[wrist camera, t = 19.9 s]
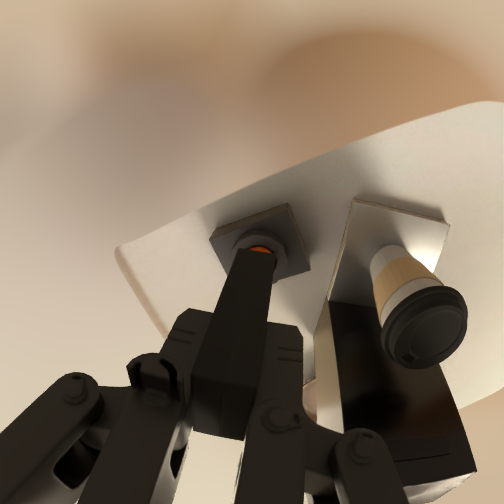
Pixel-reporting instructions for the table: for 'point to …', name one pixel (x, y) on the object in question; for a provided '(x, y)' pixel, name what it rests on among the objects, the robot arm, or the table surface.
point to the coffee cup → (415, 310)
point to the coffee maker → (387, 360)
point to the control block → (264, 241)
